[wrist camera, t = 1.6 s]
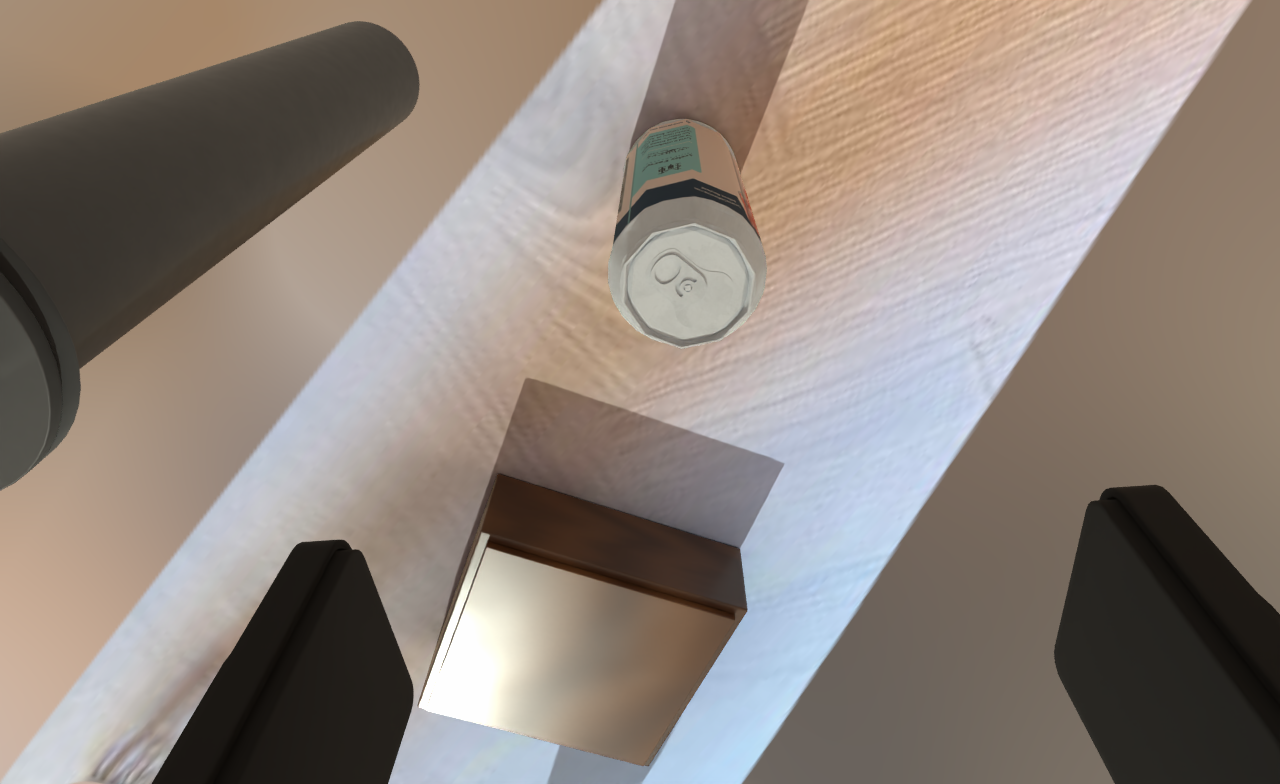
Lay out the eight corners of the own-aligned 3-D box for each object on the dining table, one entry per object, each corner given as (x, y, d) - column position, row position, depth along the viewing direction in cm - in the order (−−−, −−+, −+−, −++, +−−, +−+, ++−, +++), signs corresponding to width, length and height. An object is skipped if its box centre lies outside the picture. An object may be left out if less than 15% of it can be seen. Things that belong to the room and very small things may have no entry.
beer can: (684, 251, 35) (693, 388, 25) (600, 181, 33) (572, 297, 23) (761, 168, 33) (805, 280, 23) (675, 90, 31) (680, 172, 21)
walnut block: (436, 643, 48) (414, 713, 44) (497, 472, 41) (478, 536, 37) (649, 701, 51) (648, 773, 46) (740, 548, 44) (749, 616, 39)
